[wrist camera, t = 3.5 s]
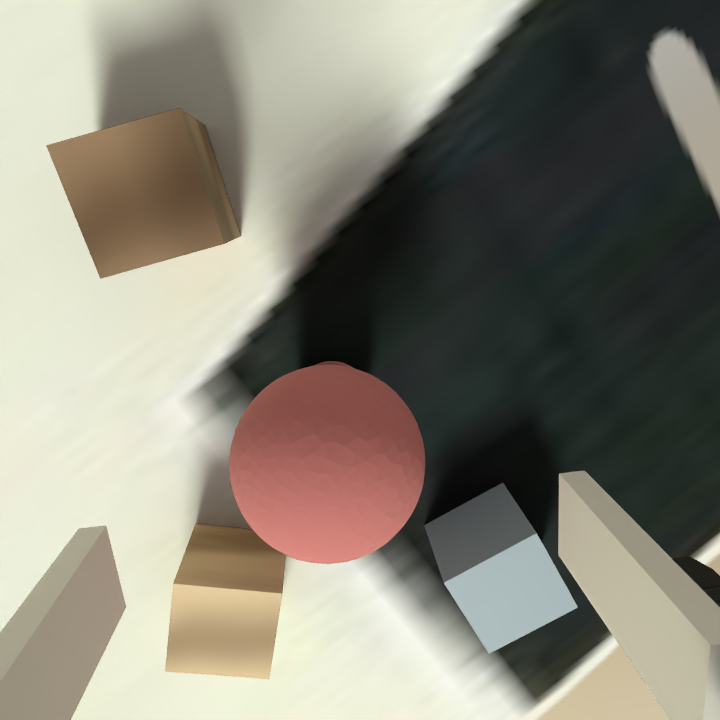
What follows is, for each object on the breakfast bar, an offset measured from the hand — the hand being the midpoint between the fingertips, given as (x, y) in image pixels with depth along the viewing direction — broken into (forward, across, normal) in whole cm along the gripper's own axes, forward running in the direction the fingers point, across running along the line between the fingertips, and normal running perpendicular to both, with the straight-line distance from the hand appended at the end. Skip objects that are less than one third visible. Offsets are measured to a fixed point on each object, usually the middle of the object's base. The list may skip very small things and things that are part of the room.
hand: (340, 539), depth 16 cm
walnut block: (+13, -6, +10) cm, 18 cm away
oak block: (+13, -6, -10) cm, 18 cm away
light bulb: (+13, 0, 0) cm, 13 cm away
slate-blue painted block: (+13, +8, -10) cm, 18 cm away
